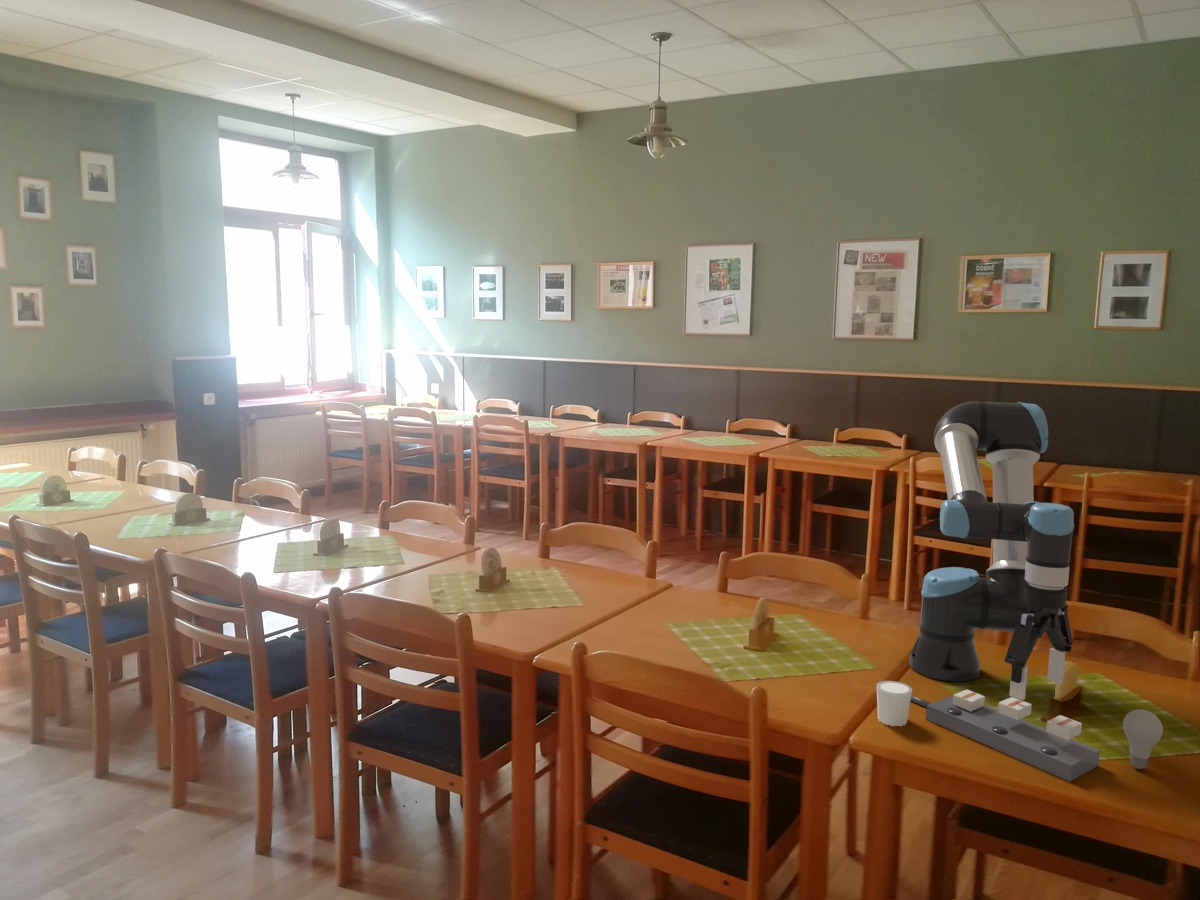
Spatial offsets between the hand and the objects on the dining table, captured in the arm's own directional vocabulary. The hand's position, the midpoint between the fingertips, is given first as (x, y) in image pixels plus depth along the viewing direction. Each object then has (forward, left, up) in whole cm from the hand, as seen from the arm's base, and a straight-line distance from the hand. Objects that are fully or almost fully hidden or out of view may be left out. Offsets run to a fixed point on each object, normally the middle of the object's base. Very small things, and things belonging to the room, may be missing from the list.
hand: (1036, 689), depth 172 cm
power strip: (+9, -5, -8) cm, 13 cm away
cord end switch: (+7, -10, -5) cm, 13 cm away
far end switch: (+7, +9, -3) cm, 12 cm away
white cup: (+20, -18, -9) cm, 28 cm away
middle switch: (+7, 0, -3) cm, 8 cm away
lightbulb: (-1, +19, -9) cm, 21 cm away
